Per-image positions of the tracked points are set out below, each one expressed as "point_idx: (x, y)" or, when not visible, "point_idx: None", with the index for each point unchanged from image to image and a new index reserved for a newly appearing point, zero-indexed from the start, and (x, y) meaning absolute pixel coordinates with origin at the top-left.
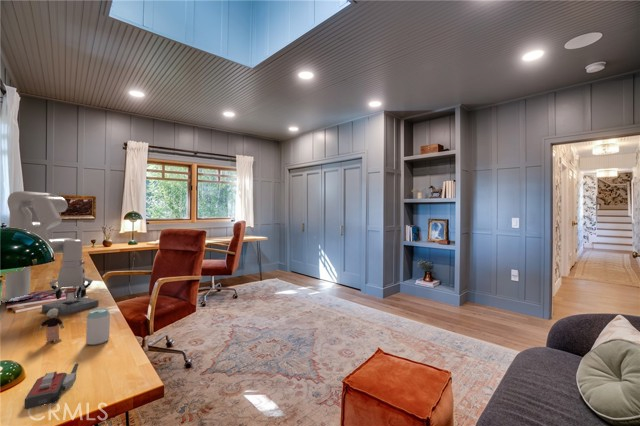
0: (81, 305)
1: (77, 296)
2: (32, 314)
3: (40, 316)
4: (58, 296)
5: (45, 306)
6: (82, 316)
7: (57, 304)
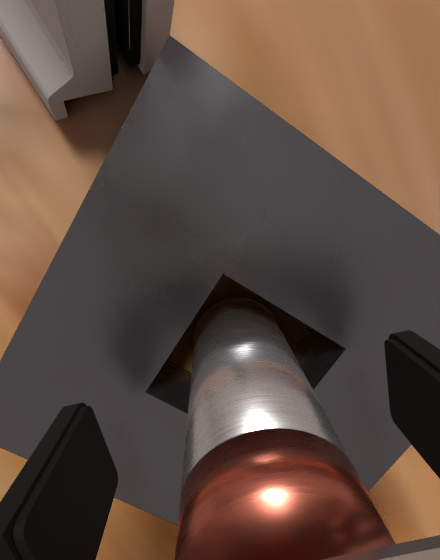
0: (394, 447)
1: (132, 12)
2: (6, 464)
3: (116, 511)
4: (104, 516)
5: (33, 451)
6: (431, 533)
7: (132, 430)
